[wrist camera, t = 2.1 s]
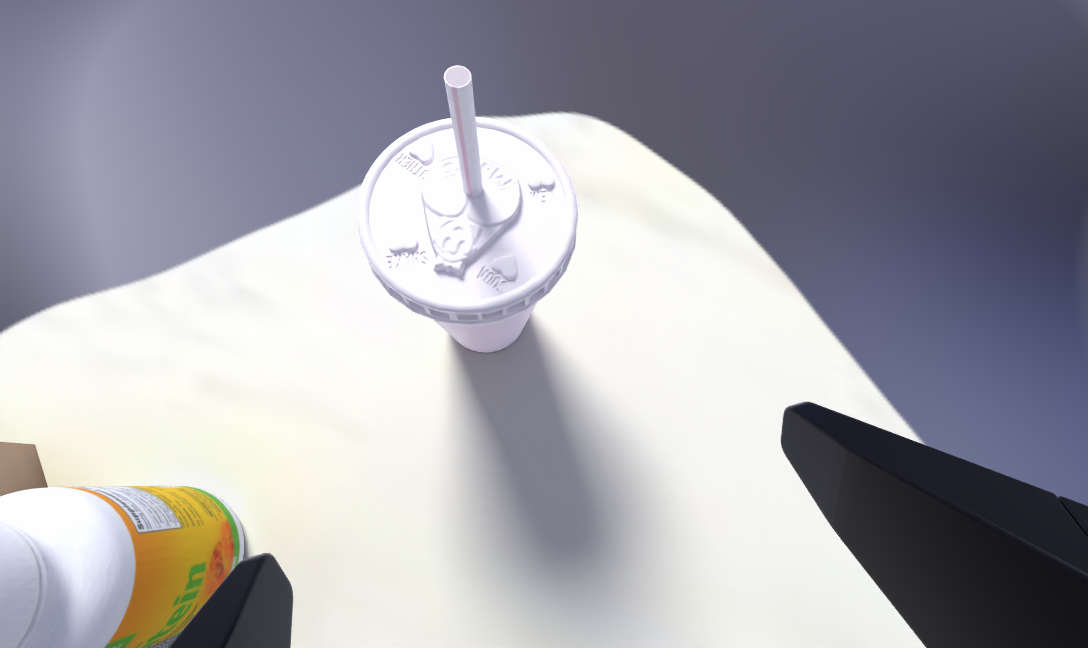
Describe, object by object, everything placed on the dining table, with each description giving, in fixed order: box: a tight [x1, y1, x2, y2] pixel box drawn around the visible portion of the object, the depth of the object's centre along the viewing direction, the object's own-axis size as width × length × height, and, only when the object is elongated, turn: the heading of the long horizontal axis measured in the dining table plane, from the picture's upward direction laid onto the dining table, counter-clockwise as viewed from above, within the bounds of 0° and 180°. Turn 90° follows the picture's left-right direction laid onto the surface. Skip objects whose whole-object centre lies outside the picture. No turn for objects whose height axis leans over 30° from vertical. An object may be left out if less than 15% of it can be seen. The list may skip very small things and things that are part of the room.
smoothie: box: [356, 66, 578, 353], centre depth 17 cm, size 6×6×14 cm
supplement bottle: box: [0, 486, 244, 648], centre depth 15 cm, size 5×5×10 cm
